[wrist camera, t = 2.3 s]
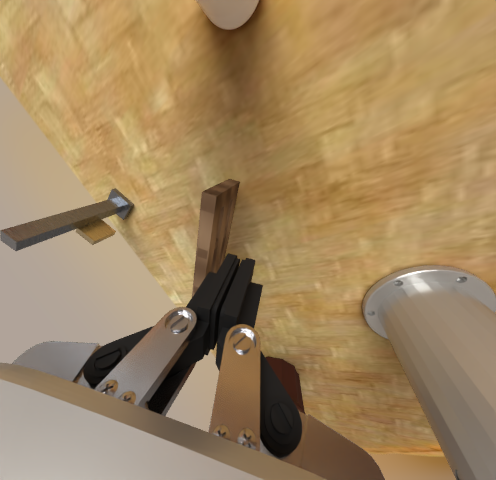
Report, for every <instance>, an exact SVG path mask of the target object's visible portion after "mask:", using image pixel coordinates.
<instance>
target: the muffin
mask: <svg viewBox="0 0 496 480" xmlns="http://www.w3.org/2000/svg"><path fill="white" fill-rule="evenodd" d="M265 358H266V360H267V361H268V363H269V364H270V366H271V368H272V369H273V371H274V372H275V374H276V375H277V377H278V379H279V380H280V382H281V383H282V385H283V386H284V388H285V390H286V391H287V393H288V394H289V396H290V397H291V399H292V401H293V402H294V404H295V405H296V407H297V409H298V410H299V411H301V412H302V413H304V414H305V412H304V406H303V400H302V393H301V386H300V380H299V374H298V373H297V371H296V369H295V367H294V366H293V365H291V364H289V363H288V362H286V361H285V360H283V359H279V358H272V357H265ZM305 415H306V414H305Z"/></svg>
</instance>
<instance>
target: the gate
mask: <svg viewBox="0 0 496 480" xmlns="http://www.w3.org/2000/svg"><path fill="white" fill-rule="evenodd" d="M239 183H240V182H238V181H235V180H232V179H228V180H226V181H224V182H222V183H220V184H218V185H215V186H213V187H211V188H209V189H207V190H205V191H203V192H202V199H201V209H200V220H199V230H198V240H197V251H196V261H195V272H194V282H193V293H192V297H193V296H194V294H195V293H196V291H197V289H198V288H199V286H200V285H201V283H202V282H203V280H204V279H205V277H206V276H207V274H208V273H209V272H213V273H217V271H218V270H219V268H220V266H221V264H222V263H223V261H224V258H225V253H226V248H227V243H228V238H229V233H230V228H231V223H232V218H233V213H234V208H235V203H236V198H237V193H238V188H239Z"/></svg>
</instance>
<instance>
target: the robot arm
mask: <svg viewBox="0 0 496 480" xmlns="http://www.w3.org/2000/svg"><path fill="white" fill-rule="evenodd" d="M239 263H240V259H238V258H237V256H236V255H232V254H227V256H226V258H225V259H224V261H223V263H222V264H221V266H220V268H219V270H218V271H217V273H213V272H209V273H208V274H207V276H206V277H205V279H204V280H203V282H202V283H201V285H200V286H199V288H198V289H197V291H196V293H195V294H194V296H193V297H192V299H191V300H190V302H189V303H188V305H187V306H186V307H179V308H175V309H173V310H171V311H169V312H168V313H167V314H165V315H164V317H163V318H162V319H161V320H160V321H159V322H158V323H157V324H156V325H155V326H153V327H150V328H147V329H145V330H142V331H140V332H137V333H134V334H132V335H129V336H127V337H124V338H121V339H119V340H116V341H113V342H111V343H109V344H106V345H104V346H100V345H99V344H97V343H78V342H55V341H50V342H43V343H41V344H38V345H35V346H34V347H32V348H30V349H28V350H26V351H25V352H24V353H23V354H22V355H20V356H19V357H18V358H17V359H16V360H15V361H14V362H13V363H12V364H8V363H0V480H385V479H384V477H383V474H382V472H381V470H380V468H379V466H378V465H377V464H376V462H375V461H374V459H373V458H372V457H371V456H370V455H369V454H368V453H367V452H366V451H365V450H363V449H362V448H360V447H359V446H357V445H356V444H354V443H353V442H351V441H350V440H348V439H346V438H345V437H343V436H342V435H340V434H339V433H337V432H336V431H334V430H333V429H331V428H329V427H328V426H326V425H325V424H323V423H322V422H320V421H319V420H317V419H315V418H314V417H312V416H311V415H308V416H307V415H305V414H304V413H302V412H301V411H299V410H298V409H297V407H296V405H295V404H294V402H293V401H292V399H291V397H290V396H289V394H288V393H287V391H286V390H285V388H284V386H283V385H282V383H281V382H280V380H279V379H278V377H277V375H276V374H275V372H274V371H273V369H272V368H271V366H270V364H269V363H268V361H267V360H266V358H265V356H264V355H263V353H262V352H261V350H260V337H259V335H258V333H257V332H256V331H255V329H254V326H255V321H256V316H257V311H258V306H259V301H260V296H261V292H262V287H263V285H260V284H256V283H252V282H251V280H252V275H253V270H254V265H255V260H253V259H249V258H246V260H242V261H241V264H240V266H239ZM362 310H363V314H364V317H365V320H366V322H367V323H368V325H369V327H370V328H371V329H372V330H373V331H374V332H376V333H377V334H379V335H380V336H382V337H384V338H386V339H388V340H389V341H390V343H391V345H392V347H393V349H394V351H395V353H396V355H397V357H398V359H399V362H400V364H401V366H402V368H403V370H404V372H405V374H406V376H407V378H408V380H409V382H410V384H411V386H412V389H413V391H414V393H415V395H416V397H417V399H418V401H419V403H420V405H421V407H422V409H423V411H424V413H425V415H426V418H427V420H428V422H429V424H430V426H431V428H432V430H433V432H434V434H435V436H436V438H437V440H438V442H439V445H440V447H441V449H442V451H443V453H444V455H445V457H446V459H447V461H448V463H449V465H450V467H451V469H452V471H453V473H454V476H455V478H456V480H496V314H495V311H496V295H495V294H494V292H493V290H492V289H491V288H490V287H489V286H488V285H487V284H486V283H485V282H484V281H483V280H481V279H480V278H478V277H477V276H475V275H474V274H472V273H469V272H467V271H465V270H462V269H458V268H454V267H449V266H440V265H431V266H419V267H412V268H408V269H404V270H401V271H398V272H395V273H393V274H390V275H388V276H386V277H385V278H383V279H381V280H380V281H378V282H377V283H376V284H375V285H373V286H372V287H371V288H370V290H369V291H368V292H367V293H366V295H365V297H364V300H363V304H362ZM216 343H217V353H216V365H217V367H218V369H219V377H218V383H217V388H216V394H215V400H214V405H213V410H212V416H211V422H210V427H209V433H208V432H205V431H203V430H200V429H198V428H195V427H192V426H190V425H187V424H184V423H182V422H179V421H176V420H173V419H171V418H168V417H166V414H167V412H168V410H169V409H170V407H171V405H172V403H173V402H174V400H175V399H176V397H177V395H178V394H179V392H180V390H181V389H182V387H183V385H184V383H185V381H186V380H187V378H188V377H189V375H190V373H191V372H192V370H193V368H194V366H195V364H196V362H197V361H199V360H201V359H203V357H204V354H205V355H208V353H209V351H210V349H213V350H214V348H215V346H216Z"/></svg>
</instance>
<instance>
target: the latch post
mask: <svg viewBox="0 0 496 480" xmlns="http://www.w3.org/2000/svg"><path fill="white" fill-rule="evenodd" d="M133 206H134V204H133V203H132V202H130V201H129V200H128V199H127V198H126V197H125V196H124V195H123V194H121V193H120V192H119V191H118V190H117V189H112V190H111V193H110V195H109V198H108V200H106V201H103V202H99V203H96V204H92V205H89V206H85V207H81V208H78V209H75V210H71V211H67V212H64V213H60V214H57V215H53V216H50V217H46V218H43V219H39V220H35V221H32V222H28V223H25V224H21V225H18V226H15V227H11V228H7V229H4V230H1V241H3V242H4V243H5V244H7V245H8V246H9V247H11V248H12V249H13V250H15V251H18V250H20V249H23V248H26V247H28V246H31V245H34V244H36V243H39V242H42V241H44V240H47V239H50V238H53V237H55V236H58V235H60V234H63V233H66V232H69V231H71V230H74V229H77V230H76V232H77V233H78V234H79V235H81V236H82V237H83V238H85V239H86V240H87V241H88V242H89V243H91V244H92V245H94V244H96V243H98V242H100V241H102V240H104V239H106V238H108V237H110V236H113V235H114V234H115V232H116V231H115V230H113V229H112V228H111V227H110V226H109V225H107V224H106V223H105V222H104V221H103V220H101V219H103V218H106V217H109V216H112V215H114V214H117V215H118V216H119V217H121V218H122V219H123V220H124V219H127V217H128V215H129V213H130V211H131V209H132V208H133Z"/></svg>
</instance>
